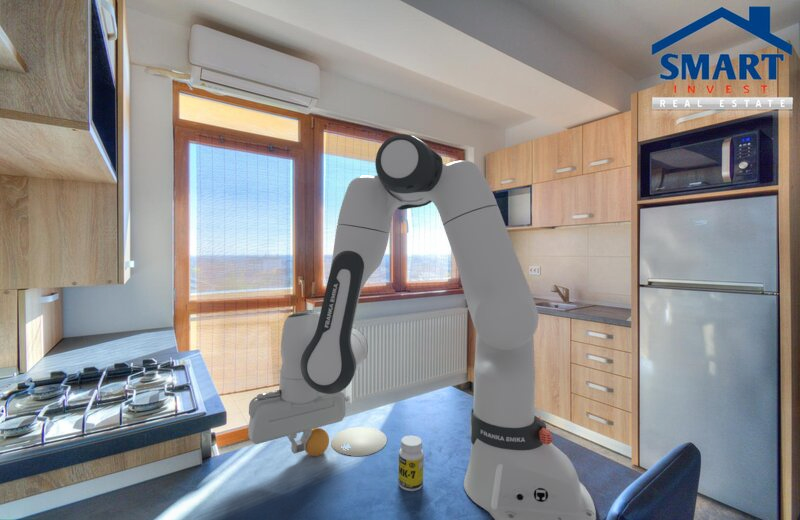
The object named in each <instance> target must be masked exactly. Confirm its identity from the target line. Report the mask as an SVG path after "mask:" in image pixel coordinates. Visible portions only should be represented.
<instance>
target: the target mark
mask: <svg viewBox="0 0 800 520" xmlns="http://www.w3.org/2000/svg"><path fill="white" fill-rule="evenodd" d="M387 440H388V439H387V436H386V434H385V433H384V432H383V431H381V430H379V429H377V428H373V427H369V426H368V427H367V426H357V427H356V426H355V427H349V428H345V429H343V430H341V431H339V432H338V433H336V434H335V435H334V436H333V437H332V439H331V446H332V447H331V448H332V449H334V451H336V452H337V453H339V452H340V453H339V454H341V453H343V454H342V455H344V454H347V455H346V456H348V455H351V456H350V457H363V456H364V457H365V456H369V455H373V454H376V453H378V452H380V451H382V449H384V448H385V446H386V444H387ZM348 443H349V445H350V447H351V448H348V449H349V450H347V449H345V448H344V449H345V450H346V451H345V450H343V448H341V446H342V447H343V446H344V444H345V446H346V445H347V444H348Z"/></svg>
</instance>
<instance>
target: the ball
mask: <svg viewBox="0 0 800 520" xmlns="http://www.w3.org/2000/svg"><path fill="white" fill-rule="evenodd" d="M329 445H330V438H329V434H328V433H327V431H326V430H324V428H321V427H318V428H315V429H312V434H311V436H310V437H309V439H308V441H307V443H306V450H305V453H306V454H308V455H309V456H311V457H318V456H321V455H323V454H324V453H325V452H326V450H327V449H328V447H329Z"/></svg>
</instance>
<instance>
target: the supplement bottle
mask: <svg viewBox="0 0 800 520" xmlns="http://www.w3.org/2000/svg"><path fill="white" fill-rule="evenodd" d="M422 448H423V441H422V439H421V437H419V436H416V435H405V436H403V437H402V438H401V440H400V449H399V451H398V475H397V476H398V479H397V480H398V481H397V482H398V486H399V487H400V488H401V489H402V490H404V491H409V492H415V491H418V490H420V489H422V488H423V485H424V459H425V458H424V456H425V455H424V450H423V449H422Z"/></svg>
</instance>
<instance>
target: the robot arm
mask: <svg viewBox="0 0 800 520" xmlns="http://www.w3.org/2000/svg"><path fill="white" fill-rule="evenodd" d="M375 156H376V157H375V171H376V174H377V175H361V176H357V177H355V178H353V179H352V180H351V181H350V182H349V183H348V186H347V188H346V192H345V193H344V197H343V200H342V202H341V207H340V210H339V214H338V219H337V224H336V229H335V235H334V237H335V238H334V244H333V252H332V258H331V264H330V270H329V274H328V278H327V283H326V286H325V291H324V295H323V300H322V304H321V309H320V310H318V309H308V310H302V311H297V312H293V313H291V314H290V315H288V316H287V317H286V318H285V319H284V323H283V327H282V332H281V341H280V342H281V343H280V356H281V368H280V371H279V385H278V387H279V389H278V390H274V391H269V392H266V393H264V392H262V393H259V394H257V395H256V396H255V397H253V398H252V399H251V400H250V402H249V405H248V415H249V417H250V418H249V421H248V430H247V436H248V438H249V440H250V441H251V442H252V443H253V444H255V445H259V444H263V443H266V442H267V443H268V442H270V441H274V440H277V439H282V438H285V437H287V439H288V440H289V441H290V443H291V452H292V454H294V455H295V454H298V453H301V452H303V451H305V450H306V443H307V441H308V439H309V437H310V436H311V434H312V429H315V428H321V427H325V426H329V425H332V424H336V423H340V422H343V420H344V418H345V416H346V397H345V394H344V393H343V390H346V388H347V387H348V386H349V385H350V384H351V382H352V380H353V379H354V376H355V373H356V372H358V370H359V368H360V367H361V365H362V364H363V363H364V361H365V360H366V357H367V355H368V351H369V350H368V349H369V346H368V341H367V339H366V336H365V335H364V333H362V331H360V330H359V329H358V328H355V327H354V323H355V318H356V313H357V309H358V303H359V300H360V296H361V293H362V291H363V288H364V286H365V285H366V283H367V281H369V279H370V277H371V276H372V274H374V272H375V271H376V270H377V269H378V268H379V267H380V266H381V263H382V261H383V258H384V257H385V253H386V250H387V247H388V242H389V238H390V232H391V226H392V224H391V223H392V220H393V216H394V215H395V214H394V213H395V212H396V210H397V209H398V210H400V211H401V210H407V209H408V210H409V209H415V208H422V207H424V206H428V205H429V204H430V203H431V204H432V203H433V204H434V205H435V207H436V209H437V212H438V214H439V216H440V220H441V222H442V226H443V228H444V232H445V235H446V237H447V240H448V243H449V245H450V246H449V247H450V248H451V251H452V252H451V253H452V254H453V259H454V260H455V263H456V266H457V271H458V274H459V275H458V276H459V278H460V282H461V286H462V291H463V295H464V298H465V301H466V305H467V307H468V311H469V314H470V318H471V321H472V324H473V327H474V329H475V332H476V335H475V350H474V352H475V353H474V354H475V355H474V365H473V366H474V367H473V408H471V414H470V420H469V421H470V422H469V423H470V425H469V436H470V442H471V447H470V448H471V449H470V454H469V460H468V464H467V468H466V469H467V470H466V474H465V477H464V479H463V488H464V490H465V493H466V494H467V496H468V497H469V498H470V500H472V501H473V502H474V503H475V504H476V505H478V506H479V507H481V508H483V509H484V510H485V511H486V512H488V513H489V514H490V516H491V517H492V518H493V519H494V520H597V511H596V507H595V504H594V501H593V498H592V496H591V495H590V493H589V491H588V490H587V488H586V487H585V486H584V484H583V483H582V482H581V481H580V479H579V476H578V473H577V470H576V468H575V466H574V464H573V463H572V460H571V459H570V458H569V457H568V456H567V455H566V454H565V453H564V452H563V451H562V450H560V449H559V448H558V447H557V446H555V445H554V443H553V440H554V439H553V436H552V434H551V431H550V430H549V429H547V424H546V423H545V422H544V421H543V419H542V417H541V415H538V416H536V415H535V405H536V404H535V403H536V401H535V400H536V399H535V398H536V395H535V394H536V371H535V346H534V345H535V344H534V343H535V342H534V341H535V339H534V336H535V334H536V332H537V329H538V325H539V321H540V320H539V319H540V318H539V311H538V306H537V305H536V301H535V300H534V297H533V295H532V291H531V289H530V286H529V284H528V281H527V278H526V277H525V273H524V271H523V267H522V265H521V263H520V261H519V258H518V256H517V253H516V250H515V248H514V245H513V243H512V240H511V238H510V237H511V236H510V235H509V232H508V230H507V227H506V223H505V220H504V218H503V216H502V213H501V210H500V208H499V206H498V205H499V204H498V203H497V199H496V198H495V195H494V193H493V191H492V188H491V187H490V184H489V183H488V181H487V178H486V177H485V175H484V174H483V172H482V170H481V169H480V167H479V166H478V165H477V164H476V163H474V162H472V161H471V160H470V161H469V160H456V161H452V162H450V163H446V164H445V163H444V162H443V158H442V156H441V155H440V154H438V152H436V151H435V150H434V149H432V148H431V147H430V146H429V145H428V144H427V143H425V142H424V141H422V140H421V139H419V138H417V137H415V136H413V135H411V134H410V135H409V134H406V133H405V134H403V133H402V134H396V135H393V136H391V137H389V138H387V139H386V140H385V141H383V143H382V144H381V145H380V146H379V148H378V150H377V153H376V155H375ZM300 433H302V435H301V437H300V438H299V440H296V439H297V436H298V434H300ZM305 452H306V451H305Z"/></svg>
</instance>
